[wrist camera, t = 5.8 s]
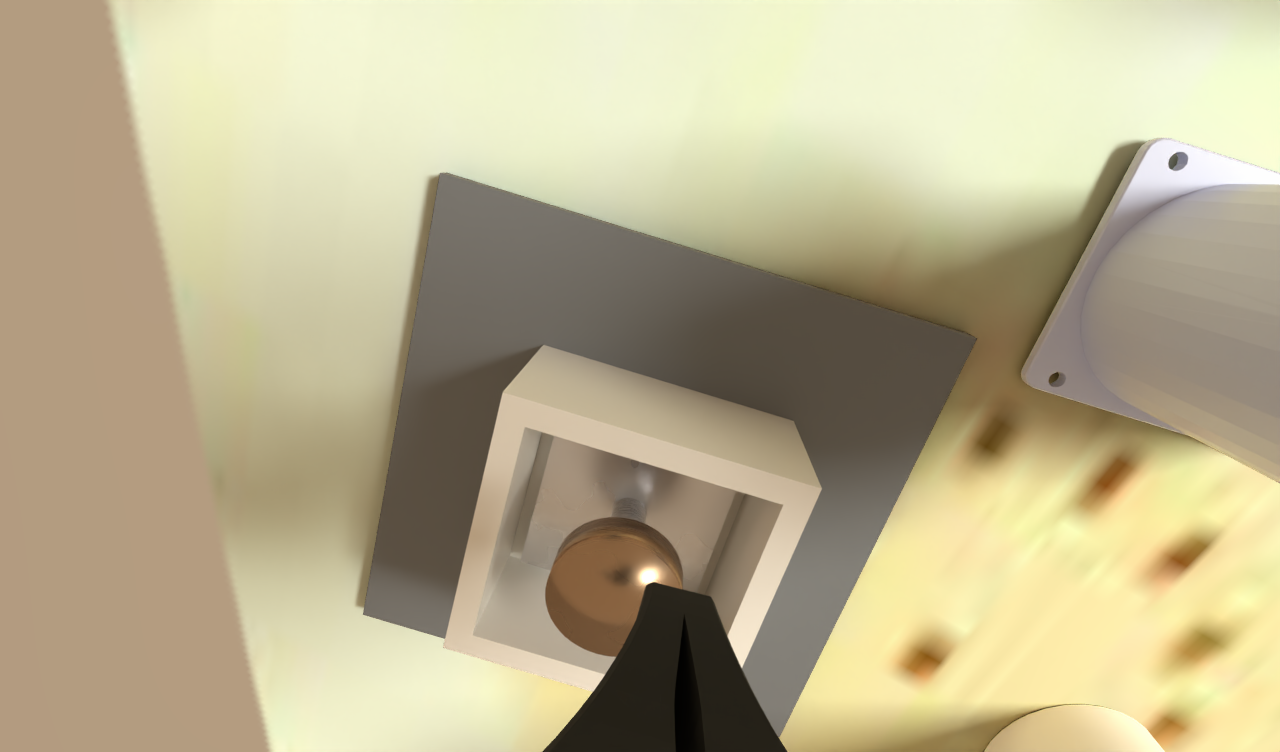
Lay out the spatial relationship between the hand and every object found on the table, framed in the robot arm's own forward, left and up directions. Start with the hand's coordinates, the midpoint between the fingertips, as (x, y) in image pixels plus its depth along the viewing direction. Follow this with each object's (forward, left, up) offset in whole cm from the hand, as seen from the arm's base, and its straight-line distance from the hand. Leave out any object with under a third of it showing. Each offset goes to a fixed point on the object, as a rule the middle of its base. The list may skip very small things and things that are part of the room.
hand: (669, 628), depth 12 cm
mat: (+1, +3, -10) cm, 11 cm away
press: (+1, +3, -10) cm, 10 cm away
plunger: (+1, +3, -9) cm, 9 cm away
